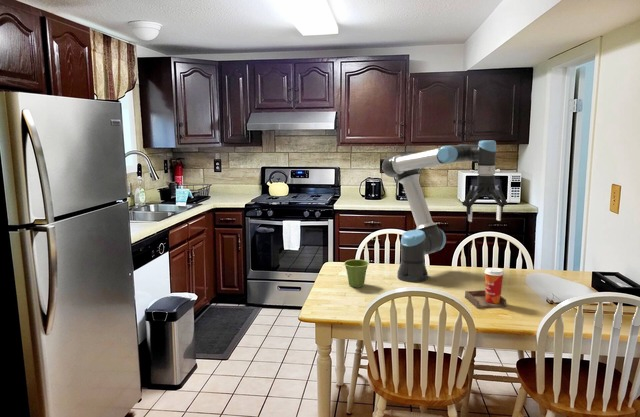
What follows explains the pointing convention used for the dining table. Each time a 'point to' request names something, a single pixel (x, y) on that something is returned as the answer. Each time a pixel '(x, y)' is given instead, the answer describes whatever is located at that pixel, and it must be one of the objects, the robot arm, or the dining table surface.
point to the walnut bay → (482, 299)
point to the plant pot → (356, 272)
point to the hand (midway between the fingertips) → (484, 220)
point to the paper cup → (493, 284)
